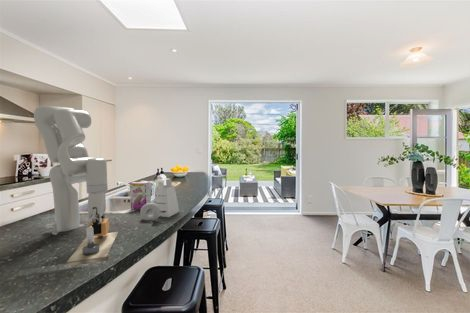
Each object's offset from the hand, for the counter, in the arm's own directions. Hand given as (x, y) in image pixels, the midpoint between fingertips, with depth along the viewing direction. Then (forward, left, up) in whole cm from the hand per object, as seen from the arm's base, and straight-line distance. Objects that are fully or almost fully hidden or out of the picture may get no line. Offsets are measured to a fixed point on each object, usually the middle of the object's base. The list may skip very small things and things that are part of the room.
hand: (99, 230), depth 102 cm
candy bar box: (+12, +50, -5) cm, 51 cm away
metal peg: (0, -14, -3) cm, 15 cm away
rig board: (0, -7, -5) cm, 9 cm away
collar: (0, 0, -1) cm, 1 cm away
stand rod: (0, -1, -3) cm, 3 cm away
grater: (+27, +32, -5) cm, 42 cm away
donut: (+19, +20, -5) cm, 28 cm away
